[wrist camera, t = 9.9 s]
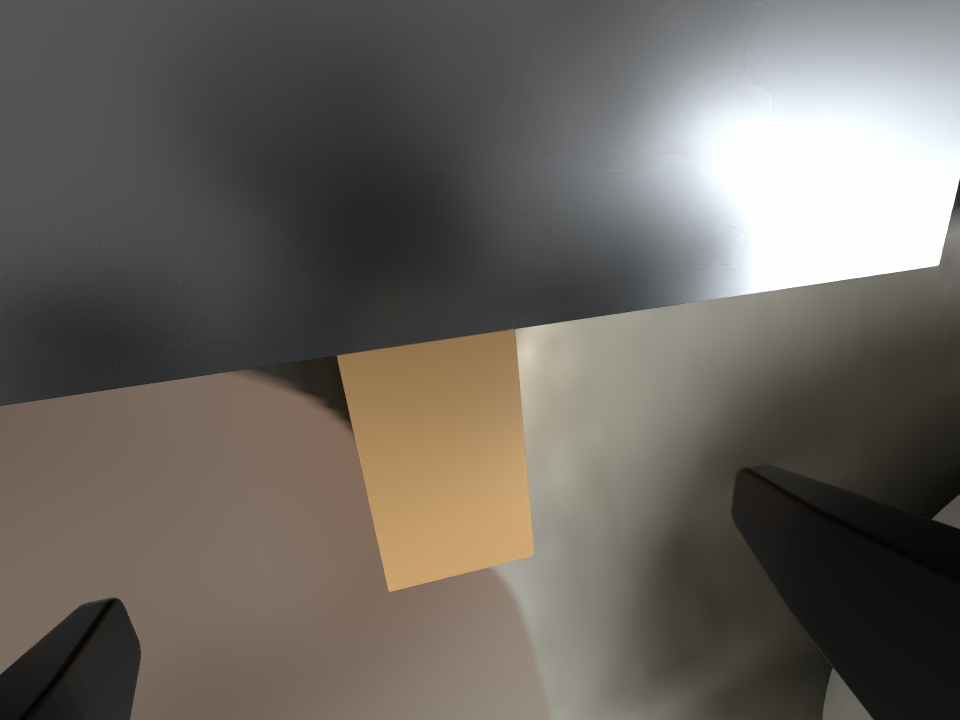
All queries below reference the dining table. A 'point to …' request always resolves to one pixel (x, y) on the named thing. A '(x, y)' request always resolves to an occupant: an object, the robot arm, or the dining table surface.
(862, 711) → the serving bowl
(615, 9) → the grey arch block
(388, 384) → the plug
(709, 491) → the dining table surface
